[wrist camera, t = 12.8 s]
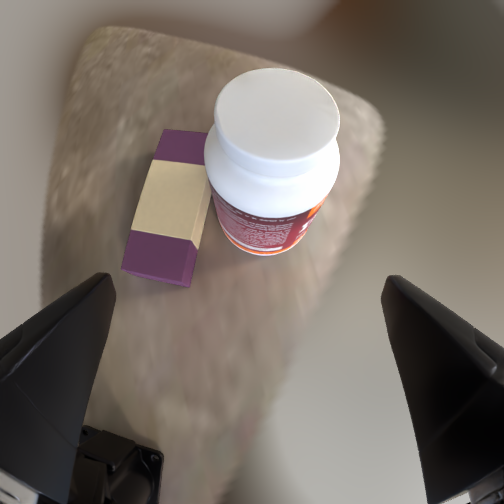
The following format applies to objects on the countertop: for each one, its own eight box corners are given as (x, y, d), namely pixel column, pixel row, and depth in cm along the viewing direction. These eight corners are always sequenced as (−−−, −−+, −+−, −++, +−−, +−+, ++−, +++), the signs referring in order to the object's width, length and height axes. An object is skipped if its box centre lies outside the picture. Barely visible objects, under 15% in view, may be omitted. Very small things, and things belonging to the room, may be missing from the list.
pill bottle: (307, 261, 20) (367, 194, 10) (213, 253, 20) (177, 178, 10) (309, 176, 22) (351, 66, 11) (224, 169, 22) (207, 53, 11)
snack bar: (190, 287, 20) (182, 282, 17) (134, 275, 20) (119, 268, 18) (222, 153, 22) (219, 134, 20) (171, 147, 22) (163, 128, 20)
